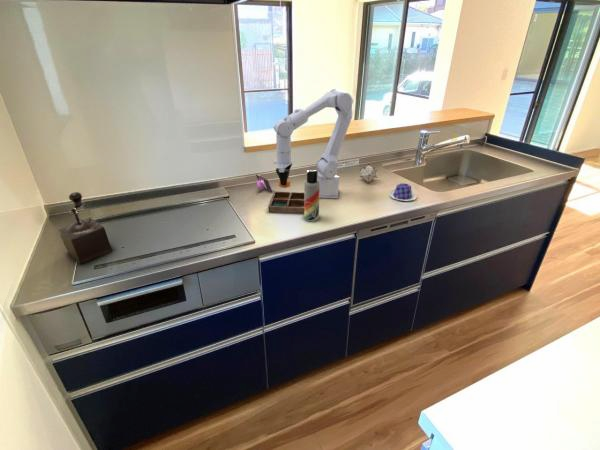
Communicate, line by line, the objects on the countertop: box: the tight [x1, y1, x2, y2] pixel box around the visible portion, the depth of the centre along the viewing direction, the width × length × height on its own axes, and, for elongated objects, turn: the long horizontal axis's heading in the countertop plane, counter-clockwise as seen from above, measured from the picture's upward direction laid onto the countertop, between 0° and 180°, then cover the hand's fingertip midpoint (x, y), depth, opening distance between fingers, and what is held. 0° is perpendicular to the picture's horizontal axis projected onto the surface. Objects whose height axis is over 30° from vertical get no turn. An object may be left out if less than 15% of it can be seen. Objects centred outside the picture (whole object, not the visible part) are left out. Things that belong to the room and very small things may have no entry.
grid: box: [268, 190, 304, 215], centre depth 144 cm, size 15×15×3 cm
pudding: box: [388, 182, 418, 202], centre depth 151 cm, size 12×12×5 cm
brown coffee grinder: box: [57, 191, 113, 265], centre depth 112 cm, size 16×11×18 cm
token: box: [278, 177, 291, 189], centre depth 145 cm, size 5×5×2 cm
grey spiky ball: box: [359, 163, 378, 184], centre depth 165 cm, size 9×8×10 cm
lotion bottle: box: [303, 169, 320, 222], centre depth 130 cm, size 6×6×20 cm
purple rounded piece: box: [255, 174, 273, 193], centre depth 157 cm, size 7×5×9 cm
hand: (284, 182), depth 145 cm, fingers closed on token, 5 cm apart
